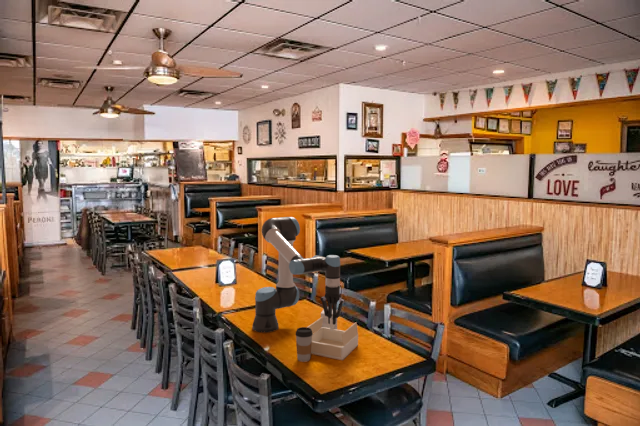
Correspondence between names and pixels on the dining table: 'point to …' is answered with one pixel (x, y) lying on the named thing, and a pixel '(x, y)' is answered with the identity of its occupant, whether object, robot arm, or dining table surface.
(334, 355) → the carton
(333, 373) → the dining table surface
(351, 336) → the flap
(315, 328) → the flap
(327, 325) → the tissue box
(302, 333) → the coffee cup
